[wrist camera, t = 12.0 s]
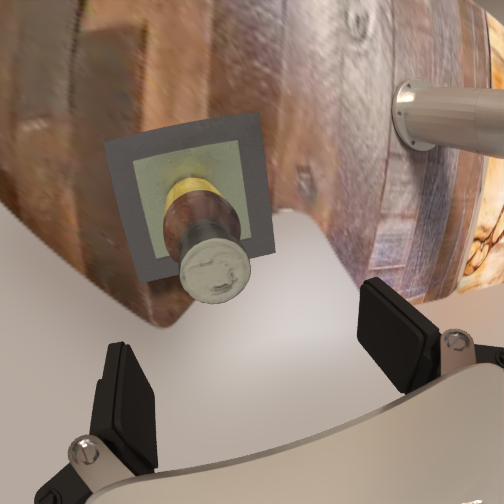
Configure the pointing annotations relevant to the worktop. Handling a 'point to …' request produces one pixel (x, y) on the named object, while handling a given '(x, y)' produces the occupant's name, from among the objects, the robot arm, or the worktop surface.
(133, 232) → the stand
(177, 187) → the sauce bottle
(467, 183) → the worktop surface
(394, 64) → the worktop surface
